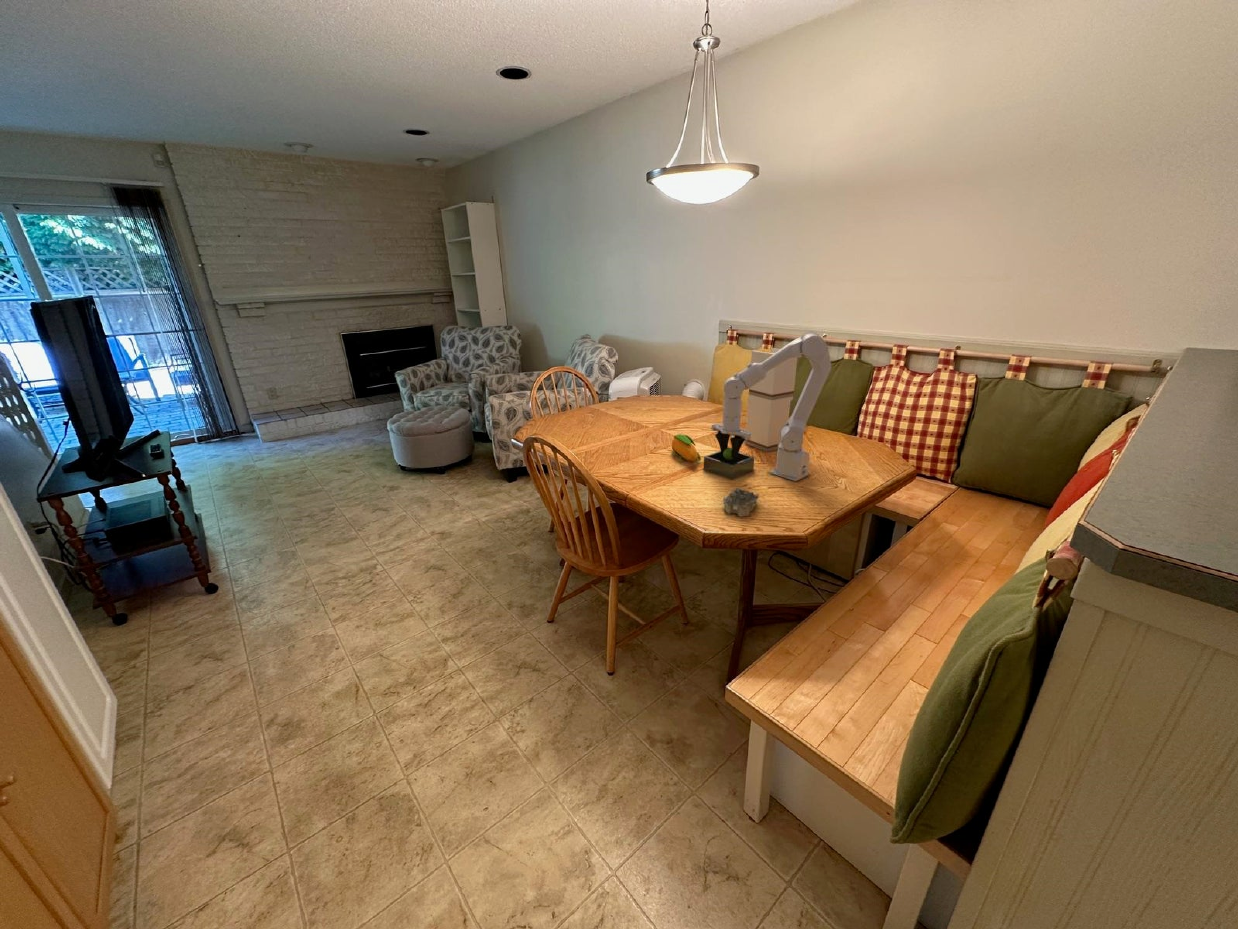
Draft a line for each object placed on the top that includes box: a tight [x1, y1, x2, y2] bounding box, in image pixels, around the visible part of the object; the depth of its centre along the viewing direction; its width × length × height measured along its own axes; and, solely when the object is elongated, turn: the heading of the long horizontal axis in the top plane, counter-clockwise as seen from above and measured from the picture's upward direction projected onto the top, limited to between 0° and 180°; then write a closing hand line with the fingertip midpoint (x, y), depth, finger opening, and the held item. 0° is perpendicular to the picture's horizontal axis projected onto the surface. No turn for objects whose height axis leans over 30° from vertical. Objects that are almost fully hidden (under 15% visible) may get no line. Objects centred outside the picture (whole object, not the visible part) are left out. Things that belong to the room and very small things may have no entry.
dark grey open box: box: [703, 450, 755, 480], centre depth 158 cm, size 12×12×5 cm
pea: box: [723, 447, 733, 460], centre depth 157 cm, size 4×4×4 cm
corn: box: [671, 433, 702, 462], centre depth 169 cm, size 7×8×20 cm
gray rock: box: [722, 487, 760, 517], centre depth 132 cm, size 11×8×4 cm
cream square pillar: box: [744, 347, 798, 453], centre depth 175 cm, size 11×11×35 cm
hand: (729, 455), depth 157 cm, fingers closed on pea, 4 cm apart
